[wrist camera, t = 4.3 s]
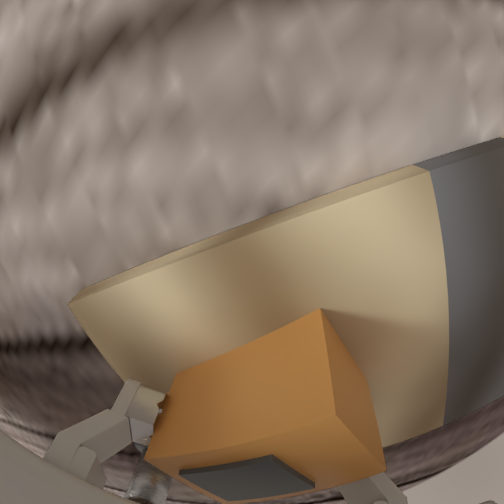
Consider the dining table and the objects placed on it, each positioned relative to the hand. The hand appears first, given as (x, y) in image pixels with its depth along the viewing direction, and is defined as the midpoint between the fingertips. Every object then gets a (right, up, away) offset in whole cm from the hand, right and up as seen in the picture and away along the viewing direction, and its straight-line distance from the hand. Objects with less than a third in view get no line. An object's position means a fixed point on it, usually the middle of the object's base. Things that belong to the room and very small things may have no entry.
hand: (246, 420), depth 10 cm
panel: (+5, +2, +1) cm, 5 cm away
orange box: (+1, +1, +1) cm, 2 cm away
